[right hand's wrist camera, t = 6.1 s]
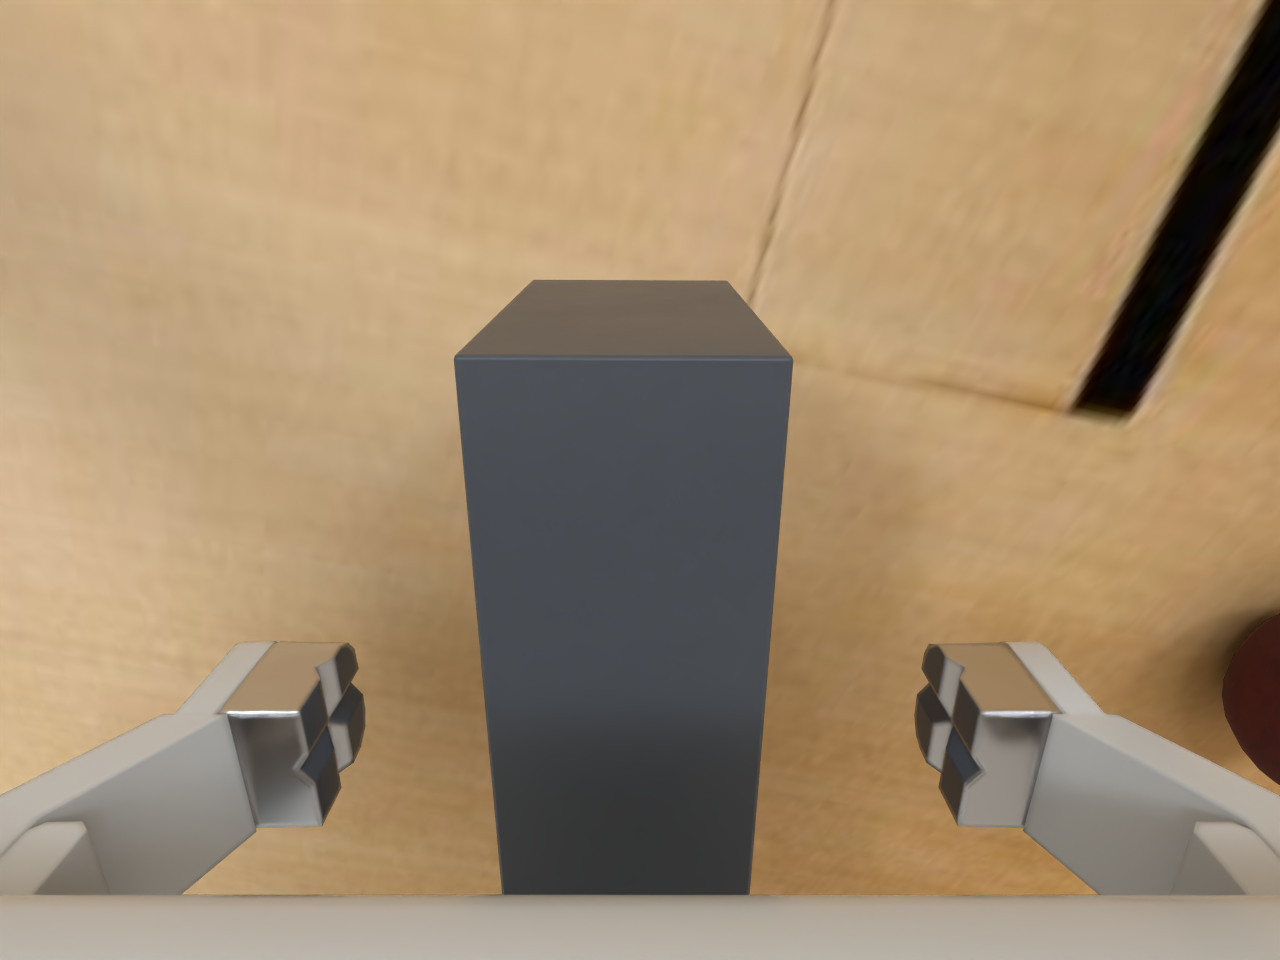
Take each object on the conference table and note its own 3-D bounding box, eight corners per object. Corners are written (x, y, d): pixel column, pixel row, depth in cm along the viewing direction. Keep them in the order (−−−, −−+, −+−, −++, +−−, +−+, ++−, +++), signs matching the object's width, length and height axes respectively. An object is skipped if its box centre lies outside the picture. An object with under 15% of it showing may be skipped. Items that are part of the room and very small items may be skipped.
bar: (531, 279, 18) (452, 355, 10) (728, 280, 18) (794, 356, 10) (566, 991, 27) (538, 1305, 19) (694, 992, 27) (716, 1305, 19)
